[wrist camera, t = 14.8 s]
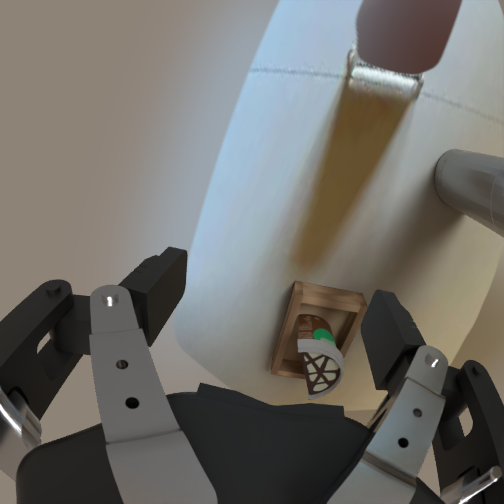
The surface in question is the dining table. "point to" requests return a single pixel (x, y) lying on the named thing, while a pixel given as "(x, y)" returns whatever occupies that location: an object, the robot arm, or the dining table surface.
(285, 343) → the wooden box
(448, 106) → the dining table surface
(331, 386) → the food container
